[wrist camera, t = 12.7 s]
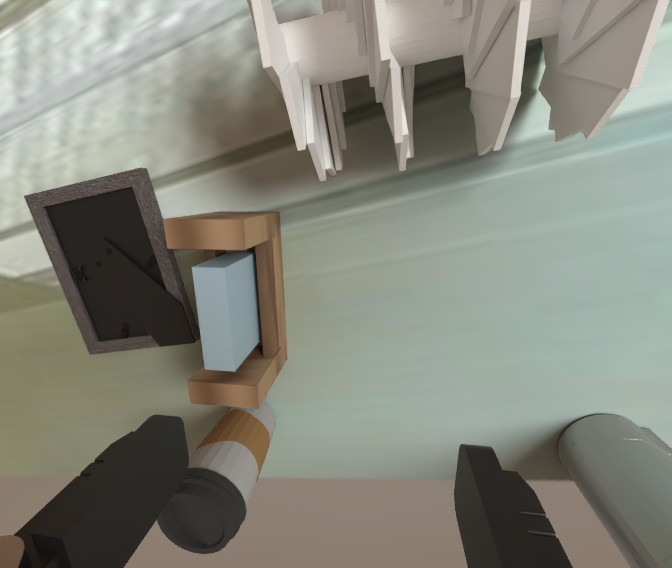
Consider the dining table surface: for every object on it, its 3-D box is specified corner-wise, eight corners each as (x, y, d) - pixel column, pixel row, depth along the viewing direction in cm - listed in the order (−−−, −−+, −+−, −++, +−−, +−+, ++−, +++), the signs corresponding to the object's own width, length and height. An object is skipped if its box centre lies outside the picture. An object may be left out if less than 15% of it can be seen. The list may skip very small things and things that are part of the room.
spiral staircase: (550, 102, 33) (311, 148, 36) (613, -189, 22) (257, -85, 25) (700, 173, 19) (293, 237, 22) (1088, -520, 8) (156, -195, 11)
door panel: (258, 251, 35) (224, 267, 28) (264, 335, 38) (234, 371, 31) (225, 250, 36) (183, 266, 28) (233, 333, 39) (197, 368, 31)
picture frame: (202, 336, 42) (149, 168, 37) (194, 343, 40) (137, 167, 35) (99, 349, 45) (37, 195, 40) (87, 356, 43) (20, 196, 38)
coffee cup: (241, 447, 46) (178, 563, 32) (214, 398, 44) (134, 497, 30) (294, 434, 44) (251, 551, 30) (268, 382, 42) (209, 480, 28)
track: (279, 211, 36) (242, 219, 26) (287, 358, 41) (258, 409, 31) (219, 211, 37) (162, 219, 27) (234, 354, 42) (190, 403, 32)
